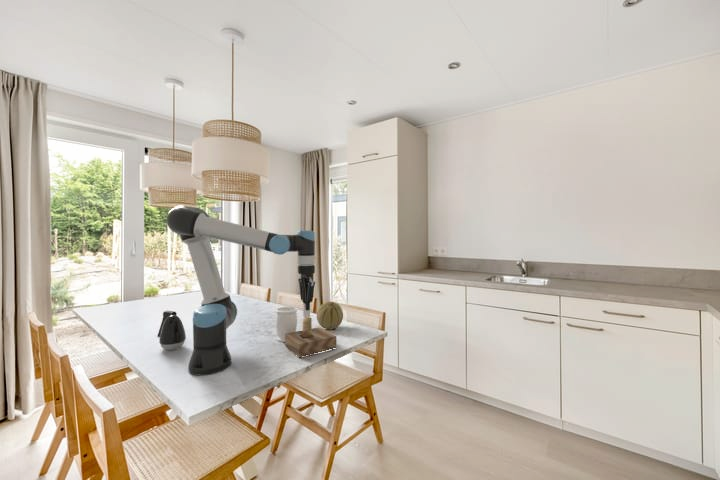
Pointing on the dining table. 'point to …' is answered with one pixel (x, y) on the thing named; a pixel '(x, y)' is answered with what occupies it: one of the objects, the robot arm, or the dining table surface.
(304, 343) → the wooden block with hole
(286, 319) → the jar
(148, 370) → the dining table surface
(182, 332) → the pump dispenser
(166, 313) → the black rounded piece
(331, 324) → the cantaloupe
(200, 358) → the robot arm
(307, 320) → the peg
